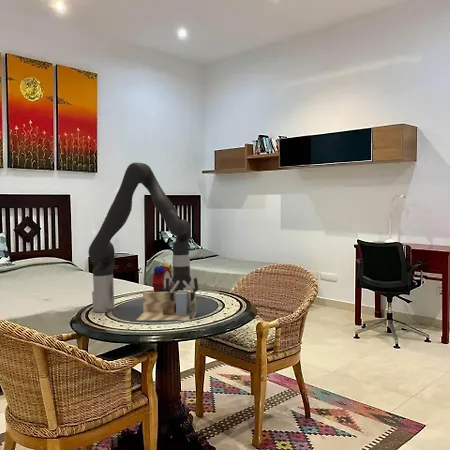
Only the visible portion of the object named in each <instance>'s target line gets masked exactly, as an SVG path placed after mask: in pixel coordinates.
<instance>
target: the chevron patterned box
mask: <svg viewBox="0 0 450 450" xmlns="http://www.w3.org/2000/svg"><path fill="white" fill-rule="evenodd" d="M196 293H197V291H196V292H194V300H193V301H191V291H188V300H189V313H188V314H187V316H176V292H174V301H172V300H170V293H169V292H154V291H144V292H142V305H143V312H142V313H141V314H140V315H139V316H138V317H137V318H136V319H135V321H190V322H191V323H192V322H193V321H194V319H193V318H195V317H194V316H196V315H195V314H197V300H196V299H197V297H196V296H197V294H196ZM192 320H193V321H192Z"/></svg>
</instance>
